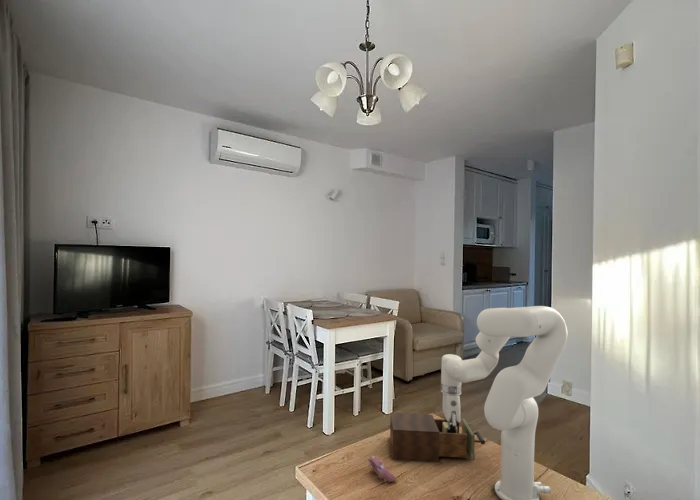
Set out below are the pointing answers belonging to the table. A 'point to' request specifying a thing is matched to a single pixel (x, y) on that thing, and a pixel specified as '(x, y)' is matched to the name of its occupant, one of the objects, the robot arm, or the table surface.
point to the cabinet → (414, 437)
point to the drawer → (457, 441)
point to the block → (446, 427)
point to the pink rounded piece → (380, 469)
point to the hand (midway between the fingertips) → (449, 436)
